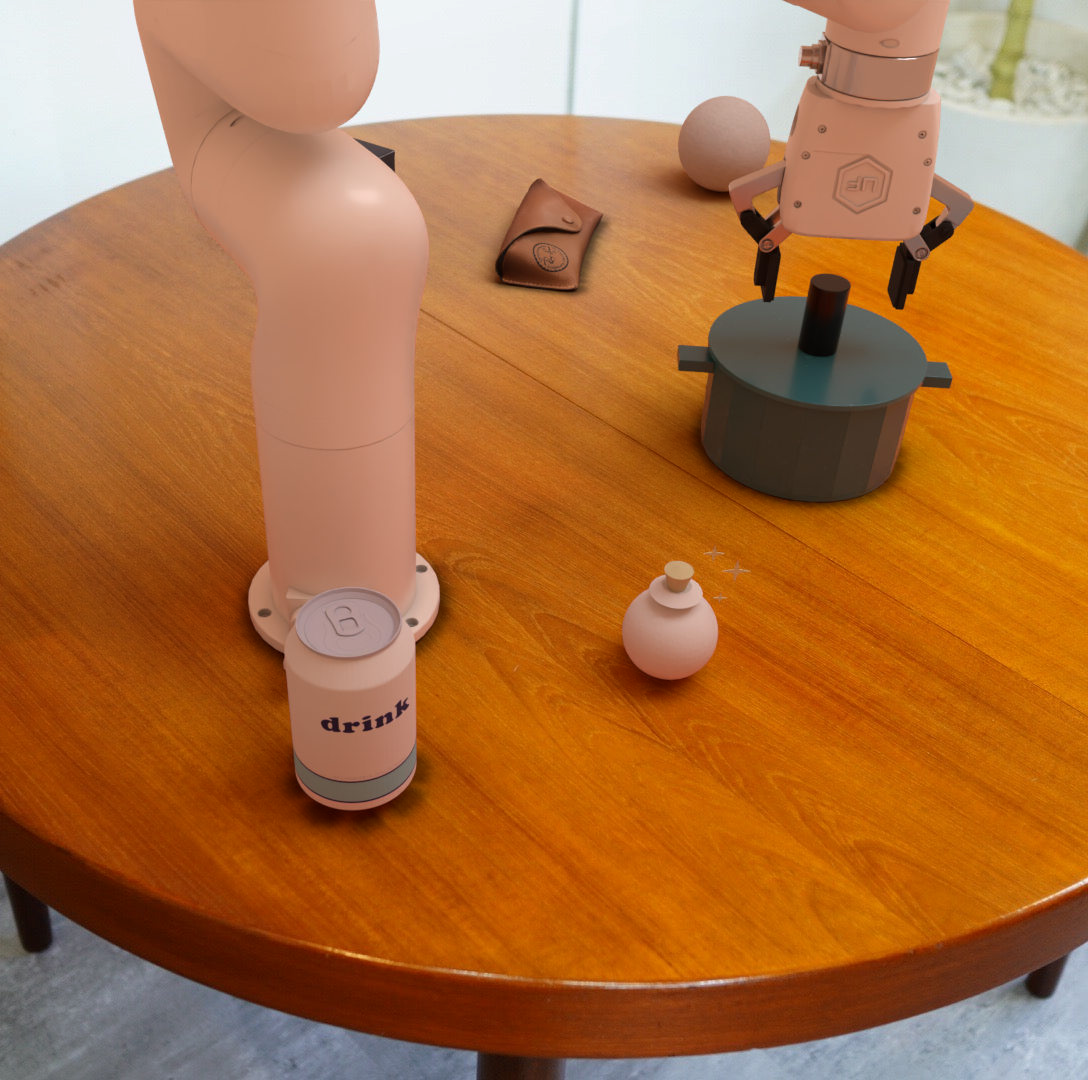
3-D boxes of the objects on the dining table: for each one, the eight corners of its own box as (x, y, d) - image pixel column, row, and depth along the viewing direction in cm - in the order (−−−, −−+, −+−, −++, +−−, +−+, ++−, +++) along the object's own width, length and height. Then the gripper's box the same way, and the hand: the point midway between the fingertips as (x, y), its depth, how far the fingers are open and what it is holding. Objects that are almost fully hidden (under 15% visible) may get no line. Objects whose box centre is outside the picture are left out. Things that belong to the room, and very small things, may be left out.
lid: (944, 426, 95) (967, 345, 91) (713, 410, 95) (726, 329, 91) (903, 315, 108) (921, 240, 104) (700, 301, 108) (711, 226, 104)
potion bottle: (613, 634, 87) (627, 514, 81) (724, 634, 88) (746, 515, 82) (623, 699, 83) (638, 577, 76) (740, 699, 83) (765, 577, 77)
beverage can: (315, 836, 73) (302, 680, 65) (282, 750, 78) (267, 595, 70) (433, 802, 75) (433, 647, 68) (394, 720, 80) (390, 567, 73)
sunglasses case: (582, 288, 125) (550, 227, 121) (518, 314, 127) (485, 256, 124) (605, 211, 139) (577, 155, 136) (547, 236, 142) (518, 182, 138)
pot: (946, 511, 100) (974, 416, 95) (671, 492, 100) (684, 397, 95) (909, 402, 113) (932, 313, 107) (664, 386, 113) (675, 296, 107)
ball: (780, 189, 147) (795, 100, 141) (728, 214, 141) (742, 123, 135) (707, 162, 152) (719, 76, 146) (655, 186, 146) (664, 96, 140)
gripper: (751, 80, 85) (718, 315, 96) (1019, 95, 85) (956, 328, 96) (742, 42, 91) (711, 268, 102) (992, 56, 91) (936, 280, 101)
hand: (830, 297), depth 99 cm, fingers open, 9 cm apart
